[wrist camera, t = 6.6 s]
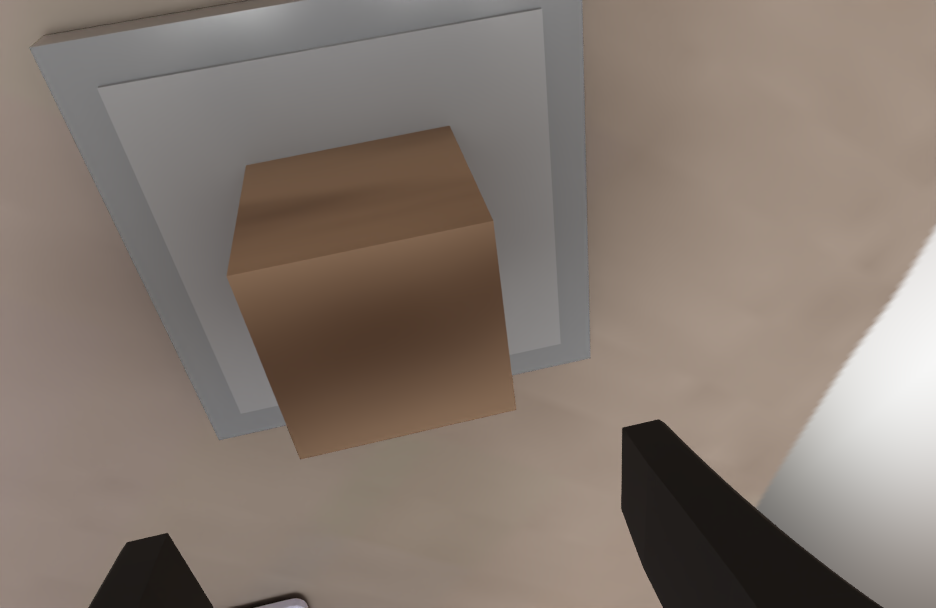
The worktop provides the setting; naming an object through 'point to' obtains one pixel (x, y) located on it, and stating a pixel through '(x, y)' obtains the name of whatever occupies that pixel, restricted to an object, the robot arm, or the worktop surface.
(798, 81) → the worktop surface
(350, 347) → the cube
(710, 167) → the worktop surface
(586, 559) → the worktop surface
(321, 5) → the grey framed panel
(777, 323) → the worktop surface
